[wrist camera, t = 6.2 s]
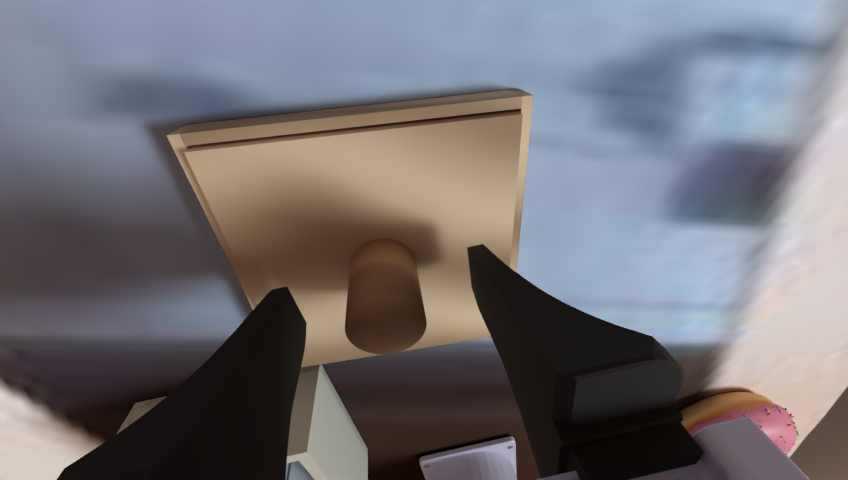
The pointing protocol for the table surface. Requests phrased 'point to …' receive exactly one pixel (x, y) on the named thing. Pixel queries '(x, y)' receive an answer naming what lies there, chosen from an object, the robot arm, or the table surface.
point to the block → (297, 472)
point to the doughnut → (742, 415)
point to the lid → (367, 212)
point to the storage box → (312, 429)
